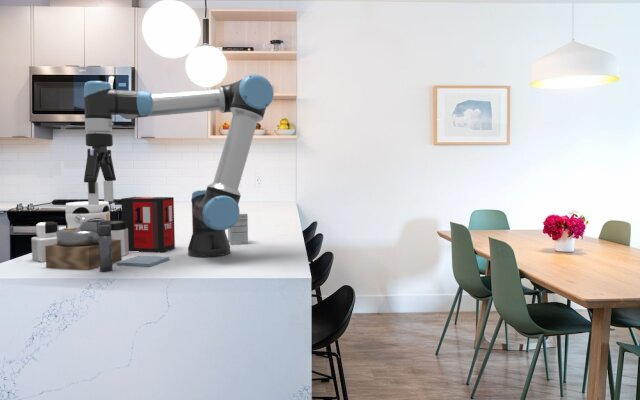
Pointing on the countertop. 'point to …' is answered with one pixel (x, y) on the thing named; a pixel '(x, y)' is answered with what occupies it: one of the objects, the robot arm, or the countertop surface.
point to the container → (43, 239)
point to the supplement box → (239, 230)
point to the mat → (143, 261)
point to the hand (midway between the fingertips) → (101, 203)
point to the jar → (120, 235)
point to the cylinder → (105, 248)
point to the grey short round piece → (81, 233)
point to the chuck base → (78, 256)
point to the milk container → (85, 212)
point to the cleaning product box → (149, 223)
